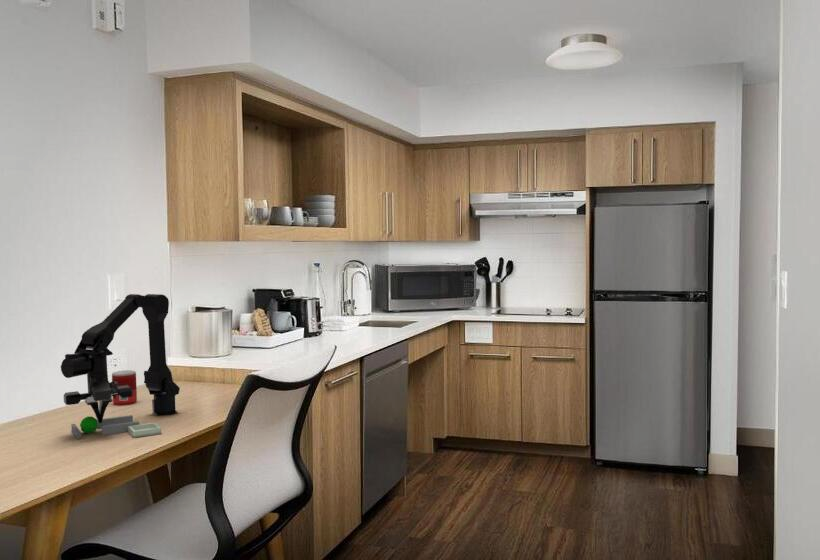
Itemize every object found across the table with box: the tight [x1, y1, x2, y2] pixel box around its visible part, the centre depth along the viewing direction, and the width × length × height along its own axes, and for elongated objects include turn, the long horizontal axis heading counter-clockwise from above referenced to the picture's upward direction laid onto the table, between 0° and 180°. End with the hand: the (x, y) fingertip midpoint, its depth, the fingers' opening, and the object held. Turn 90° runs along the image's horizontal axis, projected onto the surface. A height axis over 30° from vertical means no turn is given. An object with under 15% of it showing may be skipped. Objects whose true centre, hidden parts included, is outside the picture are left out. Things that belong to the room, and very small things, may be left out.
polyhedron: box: [79, 416, 98, 434], centre depth 226 cm, size 5×5×5 cm
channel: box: [70, 414, 140, 440], centre depth 228 cm, size 18×12×2 cm
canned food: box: [111, 369, 138, 406], centre depth 266 cm, size 8×8×11 cm
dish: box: [127, 422, 163, 439], centre depth 225 cm, size 8×8×2 cm
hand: (100, 422), depth 227 cm, fingers closed
